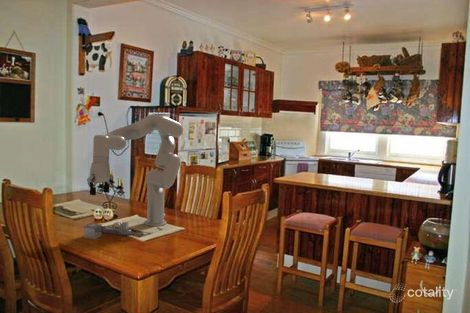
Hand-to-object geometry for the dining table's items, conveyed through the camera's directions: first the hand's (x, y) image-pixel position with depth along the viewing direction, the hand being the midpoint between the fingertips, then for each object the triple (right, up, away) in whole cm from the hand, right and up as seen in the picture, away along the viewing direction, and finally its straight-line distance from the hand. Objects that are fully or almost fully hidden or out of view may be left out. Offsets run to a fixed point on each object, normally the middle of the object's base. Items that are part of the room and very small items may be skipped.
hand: (99, 193), depth 189 cm
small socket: (+4, -21, +16) cm, 27 cm away
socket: (-4, -22, +2) cm, 23 cm away
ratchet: (+2, -22, +10) cm, 24 cm away
